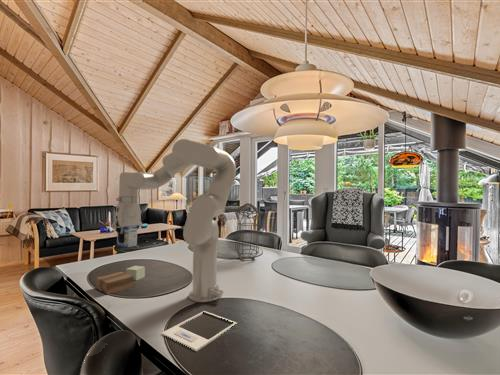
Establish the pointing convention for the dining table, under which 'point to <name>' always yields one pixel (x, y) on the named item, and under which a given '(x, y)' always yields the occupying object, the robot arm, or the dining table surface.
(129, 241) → the medicine box
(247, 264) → the dining table surface
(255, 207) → the geometric lantern
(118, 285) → the walnut block
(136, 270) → the sage block
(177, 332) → the photo frame
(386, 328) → the dining table surface
